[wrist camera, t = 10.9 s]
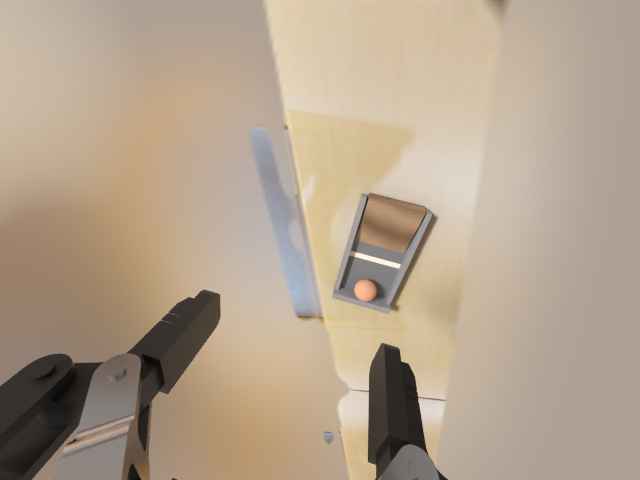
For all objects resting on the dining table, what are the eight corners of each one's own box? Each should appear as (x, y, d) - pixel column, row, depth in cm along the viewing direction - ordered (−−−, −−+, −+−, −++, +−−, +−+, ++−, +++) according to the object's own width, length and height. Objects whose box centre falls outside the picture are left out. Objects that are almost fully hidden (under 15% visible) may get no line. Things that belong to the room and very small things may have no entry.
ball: (357, 284, 42) (351, 302, 43) (379, 290, 41) (373, 308, 43) (357, 272, 45) (352, 289, 47) (378, 278, 45) (372, 295, 47)
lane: (362, 193, 38) (361, 199, 36) (429, 210, 38) (434, 218, 35) (334, 287, 48) (332, 297, 46) (387, 302, 48) (388, 313, 45)
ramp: (369, 191, 39) (369, 197, 36) (423, 204, 38) (426, 211, 36) (355, 237, 43) (354, 245, 41) (403, 249, 42) (405, 258, 40)
